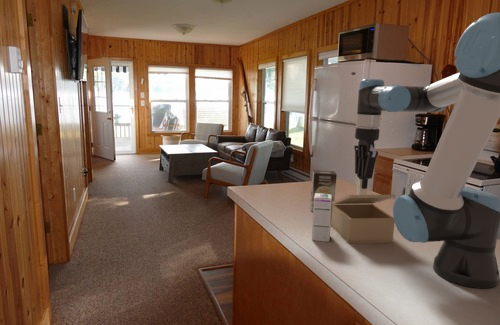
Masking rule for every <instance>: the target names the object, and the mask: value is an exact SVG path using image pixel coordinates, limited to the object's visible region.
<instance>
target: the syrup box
mask: <svg viewBox="0 0 500 325" xmlns="http://www.w3.org/2000/svg"><path fill="white" fill-rule="evenodd" d="M331 205H332V195H331V194H325V193H315V195H314V205H313V211H312V231H311V240H313V241H316V242H317V241H318V242H326V243H327V242H328V243H329V242H330V239H331V238H330V237H331V228H332V226H331V219H332V213H331Z"/></svg>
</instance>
